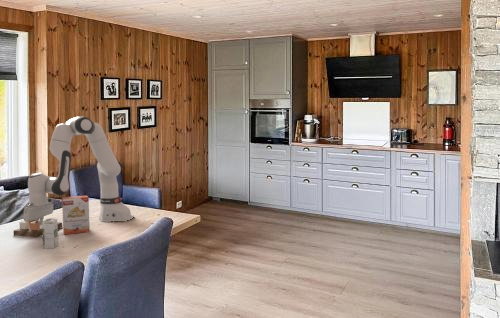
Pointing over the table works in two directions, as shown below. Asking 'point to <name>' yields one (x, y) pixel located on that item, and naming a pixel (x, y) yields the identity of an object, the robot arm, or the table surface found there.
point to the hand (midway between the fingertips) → (39, 225)
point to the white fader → (24, 225)
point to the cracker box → (75, 214)
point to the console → (32, 231)
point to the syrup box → (50, 233)
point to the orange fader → (34, 225)
